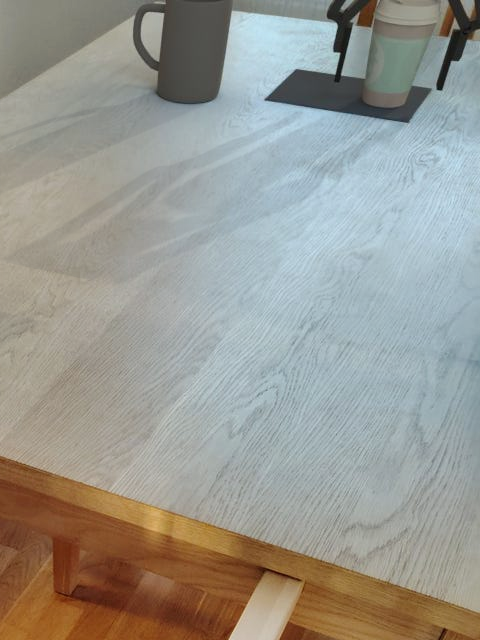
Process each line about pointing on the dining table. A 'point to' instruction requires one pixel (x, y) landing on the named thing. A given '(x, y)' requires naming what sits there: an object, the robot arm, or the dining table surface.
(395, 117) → the placemat
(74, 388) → the dining table surface
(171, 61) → the mug
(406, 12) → the coffee cup
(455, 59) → the robot arm
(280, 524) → the dining table surface
